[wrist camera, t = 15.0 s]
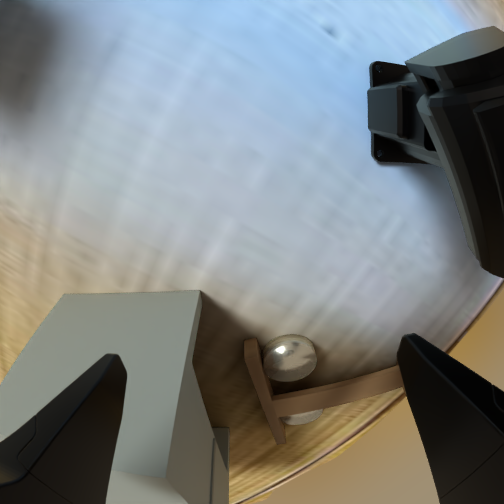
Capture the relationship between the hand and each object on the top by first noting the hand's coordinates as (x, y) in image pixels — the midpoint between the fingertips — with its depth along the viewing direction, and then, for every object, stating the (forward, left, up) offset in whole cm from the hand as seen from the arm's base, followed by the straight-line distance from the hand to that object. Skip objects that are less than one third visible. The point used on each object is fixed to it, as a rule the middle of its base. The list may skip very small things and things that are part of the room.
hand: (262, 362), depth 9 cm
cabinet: (+10, +15, -12) cm, 22 cm away
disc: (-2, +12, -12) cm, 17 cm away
